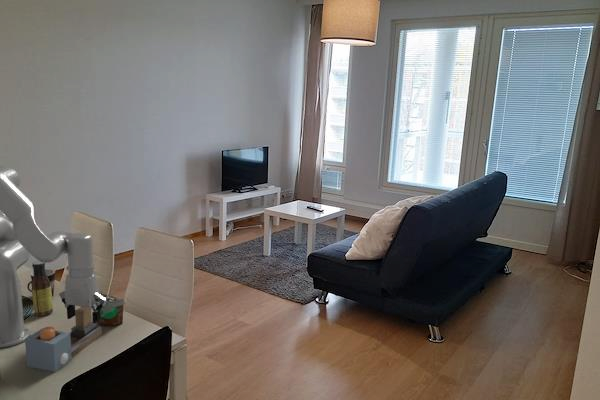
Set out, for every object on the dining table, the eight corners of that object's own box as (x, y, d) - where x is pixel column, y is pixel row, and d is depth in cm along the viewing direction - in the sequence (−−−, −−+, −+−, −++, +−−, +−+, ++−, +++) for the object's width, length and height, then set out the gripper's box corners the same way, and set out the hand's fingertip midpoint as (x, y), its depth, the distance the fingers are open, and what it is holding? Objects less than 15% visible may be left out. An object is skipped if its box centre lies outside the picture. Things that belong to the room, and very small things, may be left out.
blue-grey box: (27, 366, 145) (24, 338, 143) (44, 354, 152) (42, 328, 150) (56, 372, 143) (54, 344, 141) (72, 360, 149) (71, 333, 148)
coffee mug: (50, 290, 199) (49, 267, 197) (60, 296, 194) (59, 272, 192) (20, 298, 190) (18, 274, 188) (29, 305, 185) (27, 280, 183)
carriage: (71, 336, 160) (70, 311, 158) (83, 328, 166) (82, 304, 164) (84, 338, 159) (83, 313, 157) (96, 330, 164) (95, 306, 163)
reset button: (37, 345, 145) (36, 331, 144) (47, 339, 148) (46, 325, 147) (49, 347, 144) (48, 334, 143) (58, 341, 147) (57, 328, 146)
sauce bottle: (56, 310, 182) (53, 260, 177) (46, 317, 176) (43, 266, 171) (40, 308, 182) (36, 258, 178) (29, 316, 176) (25, 264, 172)
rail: (45, 355, 151) (45, 347, 150) (82, 331, 167) (81, 323, 167) (67, 360, 149) (67, 351, 149) (102, 334, 165) (102, 326, 165)
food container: (87, 322, 174) (86, 296, 172) (101, 316, 179) (100, 290, 177) (111, 331, 168) (110, 304, 166) (125, 324, 173) (124, 298, 171)
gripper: (50, 271, 156) (53, 320, 160) (97, 278, 152) (99, 328, 156) (66, 264, 163) (69, 311, 167) (111, 270, 159) (113, 318, 163)
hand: (84, 319), depth 161 cm, fingers open, 9 cm apart
